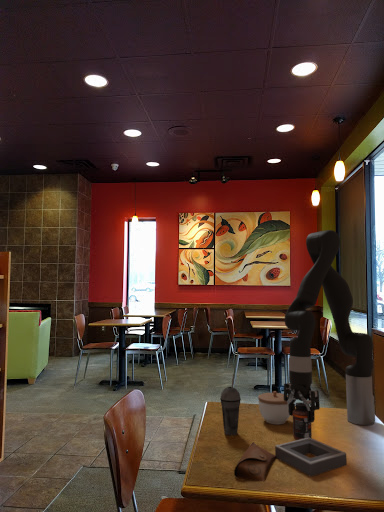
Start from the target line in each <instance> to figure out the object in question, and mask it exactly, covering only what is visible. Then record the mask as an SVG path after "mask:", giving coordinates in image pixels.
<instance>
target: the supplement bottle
mask: <svg viewBox="0 0 384 512" xmlns="http://www.w3.org/2000/svg"><path fill="white" fill-rule="evenodd" d="M307 411H308V409H307V407H306V405H304V403H303V402H302V401H301V402H295V409H294V410H293V416H292V433H293V434H292V435H293V438H294V440H295V441H296V440H300V439H304V438H308V437H310V438H312V437H313V436H312V423H309V422H308V421H307ZM312 439H313V438H312Z"/></svg>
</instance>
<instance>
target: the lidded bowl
mask: <svg viewBox="0 0 384 512" xmlns="http://www.w3.org/2000/svg"><path fill="white" fill-rule="evenodd" d="M287 397H288V394H287ZM257 398H258V408H259V413H260V415H261V417H262V418H263V420H265V422H266V423H267V424H270V425H284V424H285V423H286V421H288V419H289V418H290V417H291V415H289V412H288V409H289V408H288V403H287V401H284V393H281V392H277V391H276V390H274V391H272V392H264V393H261V394H259V395H258V396H257Z"/></svg>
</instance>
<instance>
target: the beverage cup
mask: <svg viewBox="0 0 384 512" xmlns="http://www.w3.org/2000/svg"><path fill="white" fill-rule="evenodd" d="M234 382H235V373H234V374H232V381H231V386H227V387H224V389H223V390H222V392H221V394H220V406H221V410H222V411H221V413H222V423H223V424H222V425H223V432H224V434H225V435H227V436H236V435H238V430H239V416H240V406H241V400H242V399H241V394H240V392H239V390H238V389H237V388H235V387H234Z"/></svg>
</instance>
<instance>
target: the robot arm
mask: <svg viewBox="0 0 384 512" xmlns="http://www.w3.org/2000/svg"><path fill="white" fill-rule="evenodd" d="M305 244H306V245H305V246H306V249H307V250H306V251H307V252H308V255H309V257H310V259H311V262H312V264H313V266H312V267H311V268H310V269H309V270H308V271H307V272H306V274H305V275H304V276H303V278H302V279H301V282H300V285H299V288H298V291H297V293H296V296H295V298H294V299H293V301H292V302H291V304H290V305H289V306H288V308H287V311H286V312H285V313H284V324H285V326H286V328H287V329H289V330H291V331H299V332H298V335H297V337H292V338H290V341H289V359H288V382H286V383H285V382H284V383H283V394H284V401H287V403H288V408H289V409H288V412H289V415H290V417H293V410H294V409H296V407H295V406H296V401H301V402H302V403H304V405H306V407H307V409H308V411H307V421H308V422H309V423H311V424H312V423H314V422H315V419H316V418H315V414H316V413H315V412H316V411H318V410H320V409H321V408H320V392H319V390H312V387H311V385H313V362H312V352H311V351H312V348H311V347H312V346H311V344H312V340H313V336H314V334H315V333H314V332H315V328H316V317H315V316H314V314H313V312H312V311H310V310H308V309H310V308H311V309H312V308H313V307H315V306H316V304H317V301H318V298H319V295H320V292H321V288H322V289H323V293H324V296H325V299H326V302H327V304H328V307H329V310H330V313H331V316H332V318H333V324H334V326H335V331H336V335H337V339H338V340H337V341H338V345H339V348H340V350H341V352H342V353H343V354H344V355H346V356H350V357H353V358H354V357H355V358H356V359H355V363H354V364H353V363H352V364H350V365H348V366H347V365H346V367H345V390H346V391H345V393H346V414H347V415H346V417H347V418H346V419H347V422H349V423H351V424H356V425H360V426H372V425H374V423H375V422H376V410H375V409H376V408H375V407H376V406H375V396H374V395H373V377H372V376H373V375H372V373H373V368H374V344H373V339H372V337H371V335H369V334H368V333H366V332H365V333H364V332H356V331H355V332H354V331H353V330H352V328H351V325H350V316H351V311H352V308H353V305H354V299H353V295H352V292H351V289H350V286H349V284H348V282H347V280H345V278H344V277H343V276H342V275H341V274H340V273H339V272H338V271H337V270H336V269H335V268H334V267H333V265H332V264H333V262H334V260H335V258H336V256H337V254H338V252H339V251H340V250H339V249H340V246H341V238H340V235H339V234H338V233H337V232H336V231H335V230H332V229H328V230H320V231H317V232H311V233H309V234H308V235H307V237H306V240H305ZM287 395H288V397H287Z"/></svg>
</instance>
